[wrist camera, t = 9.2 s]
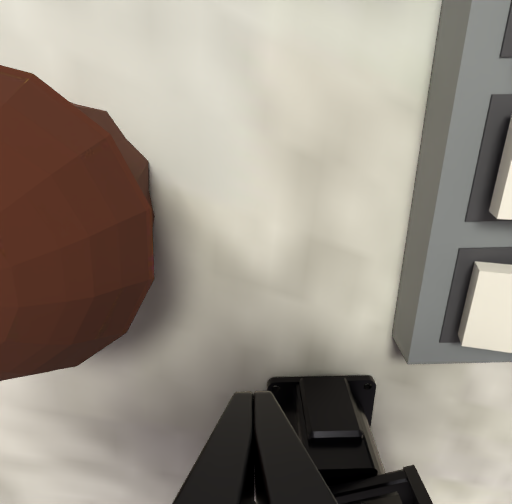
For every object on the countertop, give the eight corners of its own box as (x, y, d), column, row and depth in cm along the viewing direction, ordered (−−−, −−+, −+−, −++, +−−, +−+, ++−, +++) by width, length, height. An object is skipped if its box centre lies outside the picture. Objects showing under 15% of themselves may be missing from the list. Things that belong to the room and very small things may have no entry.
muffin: (64, 326, 23) (-60, 498, 13) (-112, 169, 19) (-451, 261, 10) (231, 207, 20) (216, 324, 11) (64, -5, 16) (-178, -104, 7)
